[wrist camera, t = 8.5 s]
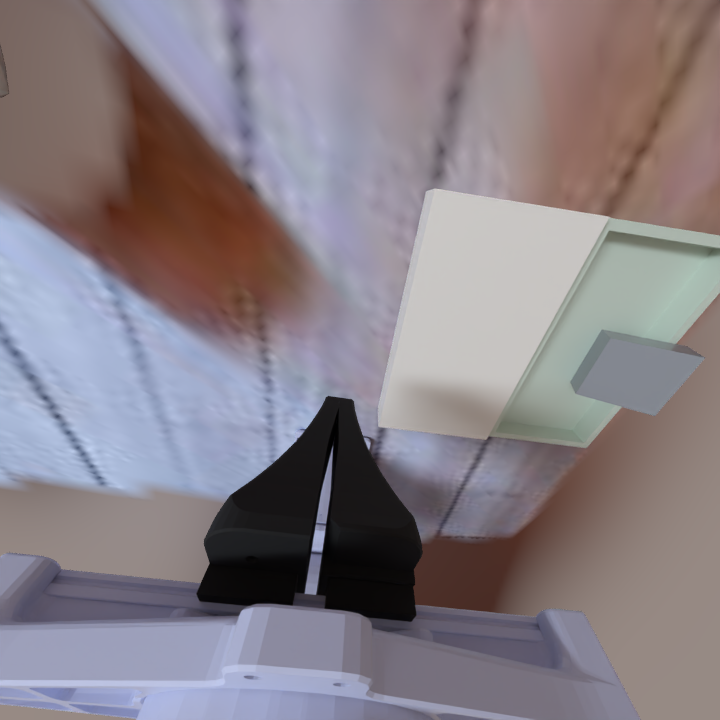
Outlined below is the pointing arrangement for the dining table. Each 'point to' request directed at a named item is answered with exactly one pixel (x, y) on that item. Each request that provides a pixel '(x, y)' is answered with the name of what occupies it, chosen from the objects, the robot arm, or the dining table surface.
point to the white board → (477, 308)
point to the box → (611, 323)
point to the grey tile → (634, 371)
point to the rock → (3, 77)
